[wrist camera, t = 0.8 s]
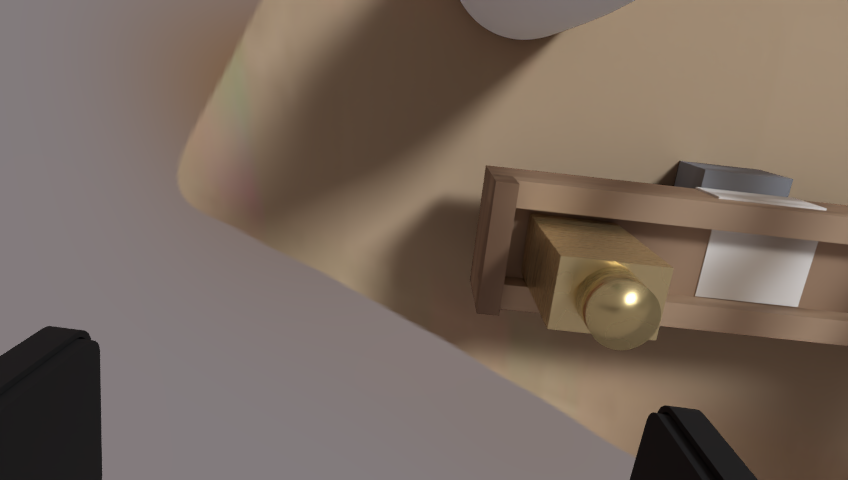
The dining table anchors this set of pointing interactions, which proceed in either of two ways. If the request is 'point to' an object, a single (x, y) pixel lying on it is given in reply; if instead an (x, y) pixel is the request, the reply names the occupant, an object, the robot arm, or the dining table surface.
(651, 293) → the rider
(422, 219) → the dining table surface
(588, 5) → the milk bottle
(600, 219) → the beam
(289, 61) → the dining table surface
